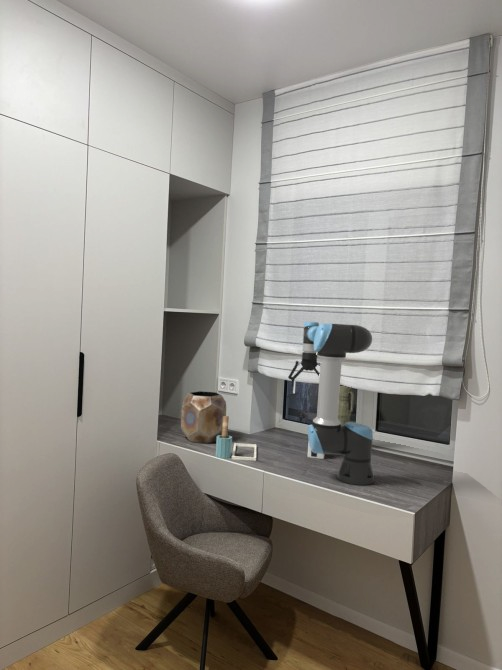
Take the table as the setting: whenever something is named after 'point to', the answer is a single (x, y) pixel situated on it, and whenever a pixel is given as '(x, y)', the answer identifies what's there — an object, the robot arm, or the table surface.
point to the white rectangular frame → (244, 457)
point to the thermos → (345, 404)
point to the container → (314, 454)
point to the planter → (203, 416)
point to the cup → (223, 446)
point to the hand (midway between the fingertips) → (307, 393)
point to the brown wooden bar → (225, 426)
